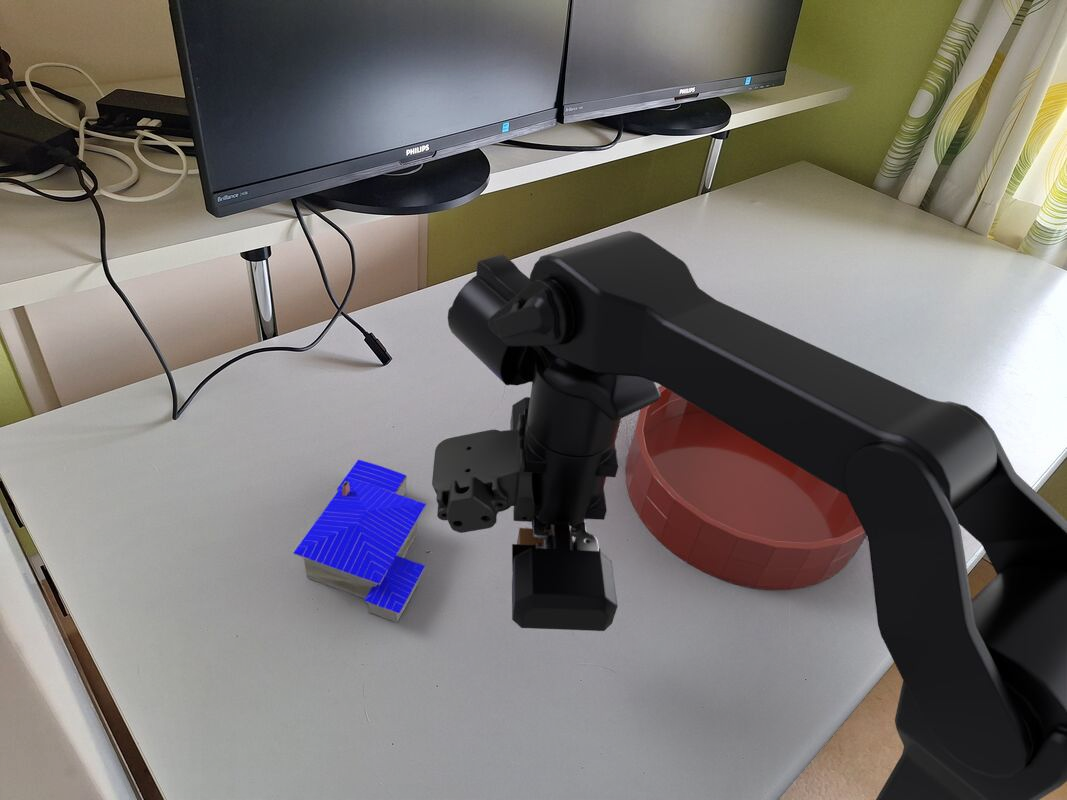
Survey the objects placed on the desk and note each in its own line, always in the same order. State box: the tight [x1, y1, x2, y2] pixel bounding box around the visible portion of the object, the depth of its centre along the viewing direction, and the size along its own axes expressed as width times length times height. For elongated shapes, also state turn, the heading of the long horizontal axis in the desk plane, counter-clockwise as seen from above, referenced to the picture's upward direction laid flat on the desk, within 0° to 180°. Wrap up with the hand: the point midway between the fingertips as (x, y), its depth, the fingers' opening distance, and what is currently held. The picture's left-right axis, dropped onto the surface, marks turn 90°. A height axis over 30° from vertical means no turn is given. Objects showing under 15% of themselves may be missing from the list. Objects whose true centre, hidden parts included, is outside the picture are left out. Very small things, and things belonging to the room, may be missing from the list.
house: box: [293, 459, 427, 623], centre depth 69 cm, size 11×14×6 cm
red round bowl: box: [624, 385, 868, 591], centre depth 80 cm, size 25×25×6 cm
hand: (542, 574), depth 58 cm, fingers closed on block, 4 cm apart
